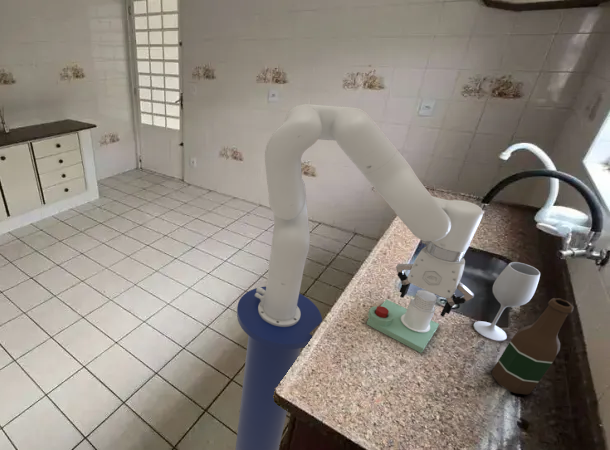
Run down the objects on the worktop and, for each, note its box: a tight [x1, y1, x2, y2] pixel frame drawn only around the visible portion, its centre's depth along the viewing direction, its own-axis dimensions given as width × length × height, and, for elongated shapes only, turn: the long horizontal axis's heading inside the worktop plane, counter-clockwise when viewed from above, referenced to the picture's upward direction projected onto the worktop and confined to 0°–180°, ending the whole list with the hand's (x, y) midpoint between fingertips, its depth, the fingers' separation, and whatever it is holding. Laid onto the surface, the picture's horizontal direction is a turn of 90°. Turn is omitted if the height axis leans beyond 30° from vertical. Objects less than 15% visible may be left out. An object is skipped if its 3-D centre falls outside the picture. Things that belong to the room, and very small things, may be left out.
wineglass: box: [473, 261, 541, 342], centre depth 91 cm, size 8×8×21 cm
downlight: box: [401, 289, 438, 333], centre depth 94 cm, size 8×7×10 cm
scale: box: [366, 298, 440, 354], centre depth 97 cm, size 15×13×4 cm
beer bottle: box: [491, 297, 575, 395], centre depth 77 cm, size 8×8×24 cm
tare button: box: [375, 305, 389, 318], centre depth 97 cm, size 3×3×2 cm
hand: (422, 304), depth 93 cm, fingers open, 9 cm apart
